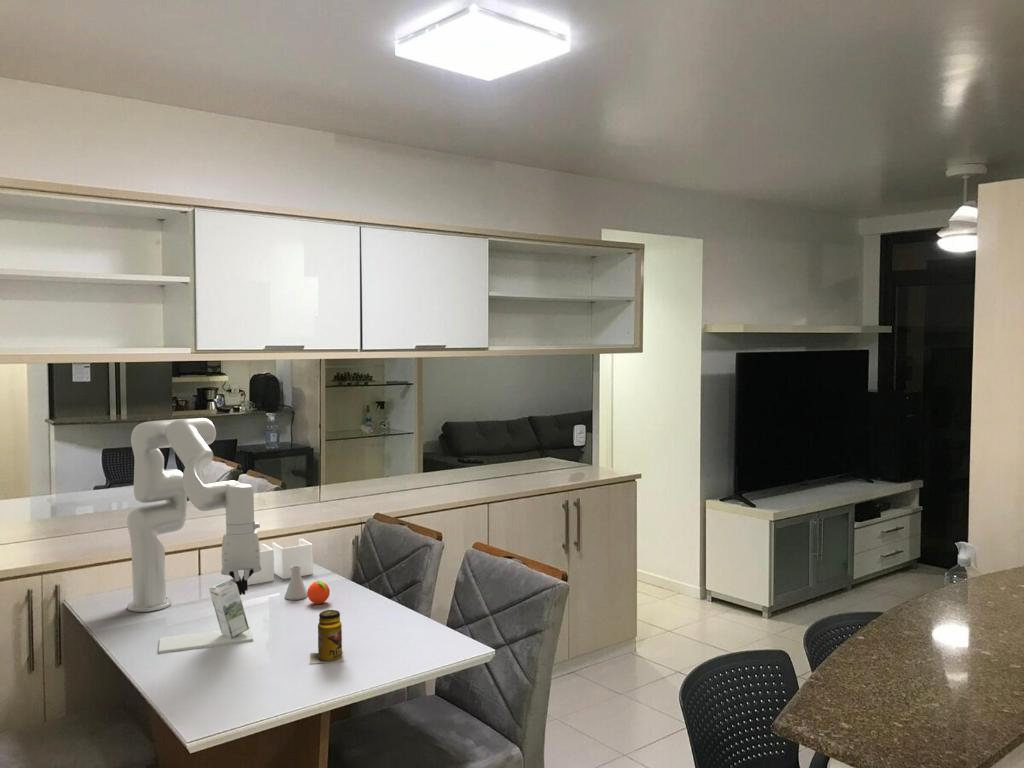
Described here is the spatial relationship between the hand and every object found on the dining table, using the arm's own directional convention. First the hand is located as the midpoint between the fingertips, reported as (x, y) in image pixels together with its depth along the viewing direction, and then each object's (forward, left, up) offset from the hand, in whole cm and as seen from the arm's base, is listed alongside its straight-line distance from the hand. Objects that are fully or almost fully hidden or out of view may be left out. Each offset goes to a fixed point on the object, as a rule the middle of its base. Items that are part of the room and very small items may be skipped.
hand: (241, 593), depth 235 cm
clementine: (-22, +24, -12) cm, 35 cm away
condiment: (+26, +19, -12) cm, 35 cm away
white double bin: (-61, +14, -12) cm, 64 cm away
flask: (-32, +18, -12) cm, 39 cm away
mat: (0, -10, -12) cm, 15 cm away
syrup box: (0, -2, -11) cm, 11 cm away
